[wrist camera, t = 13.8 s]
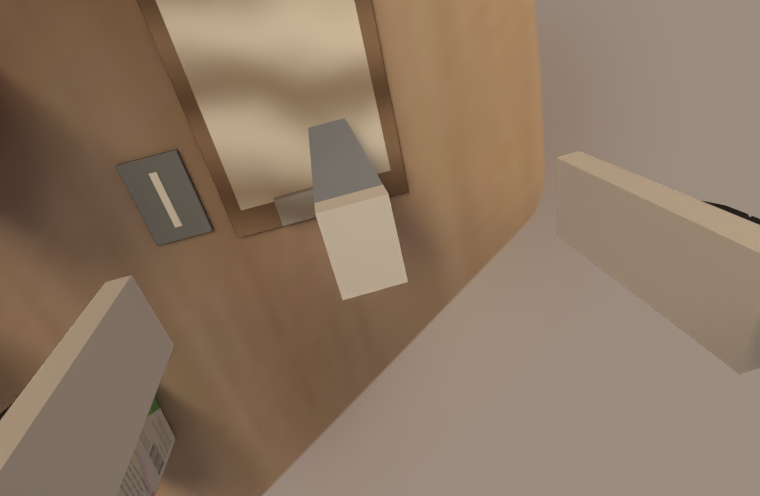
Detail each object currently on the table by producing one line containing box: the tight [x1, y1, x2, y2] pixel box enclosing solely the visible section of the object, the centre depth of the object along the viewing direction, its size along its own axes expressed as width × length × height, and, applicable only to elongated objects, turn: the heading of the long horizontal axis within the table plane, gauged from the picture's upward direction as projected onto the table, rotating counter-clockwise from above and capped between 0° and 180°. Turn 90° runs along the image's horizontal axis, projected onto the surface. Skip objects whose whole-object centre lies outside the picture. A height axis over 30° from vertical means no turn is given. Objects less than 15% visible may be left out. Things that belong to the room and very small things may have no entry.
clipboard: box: [137, 0, 409, 238], centre depth 27 cm, size 17×13×1 cm
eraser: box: [308, 118, 408, 300], centre depth 21 cm, size 3×2×16 cm
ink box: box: [117, 397, 175, 496], centre depth 31 cm, size 9×5×12 cm, turn 6°
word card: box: [115, 149, 213, 246], centre depth 29 cm, size 6×4×1 cm, turn 13°
